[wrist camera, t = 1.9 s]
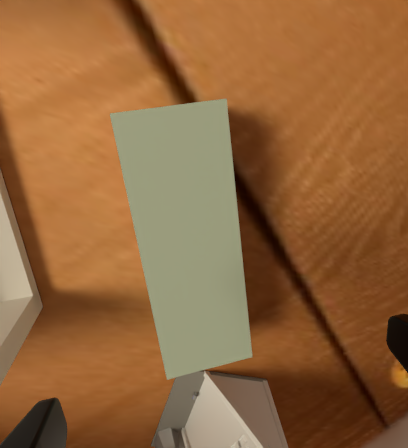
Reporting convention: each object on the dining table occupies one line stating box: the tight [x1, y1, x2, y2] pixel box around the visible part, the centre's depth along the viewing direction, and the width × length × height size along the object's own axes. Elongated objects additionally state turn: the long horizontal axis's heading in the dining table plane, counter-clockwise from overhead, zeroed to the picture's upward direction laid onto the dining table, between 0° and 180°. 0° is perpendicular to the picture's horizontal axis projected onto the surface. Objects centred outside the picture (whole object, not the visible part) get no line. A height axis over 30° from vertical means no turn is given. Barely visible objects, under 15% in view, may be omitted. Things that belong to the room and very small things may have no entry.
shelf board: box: [110, 99, 252, 380], centre depth 17 cm, size 14×5×4 cm, turn 8°
